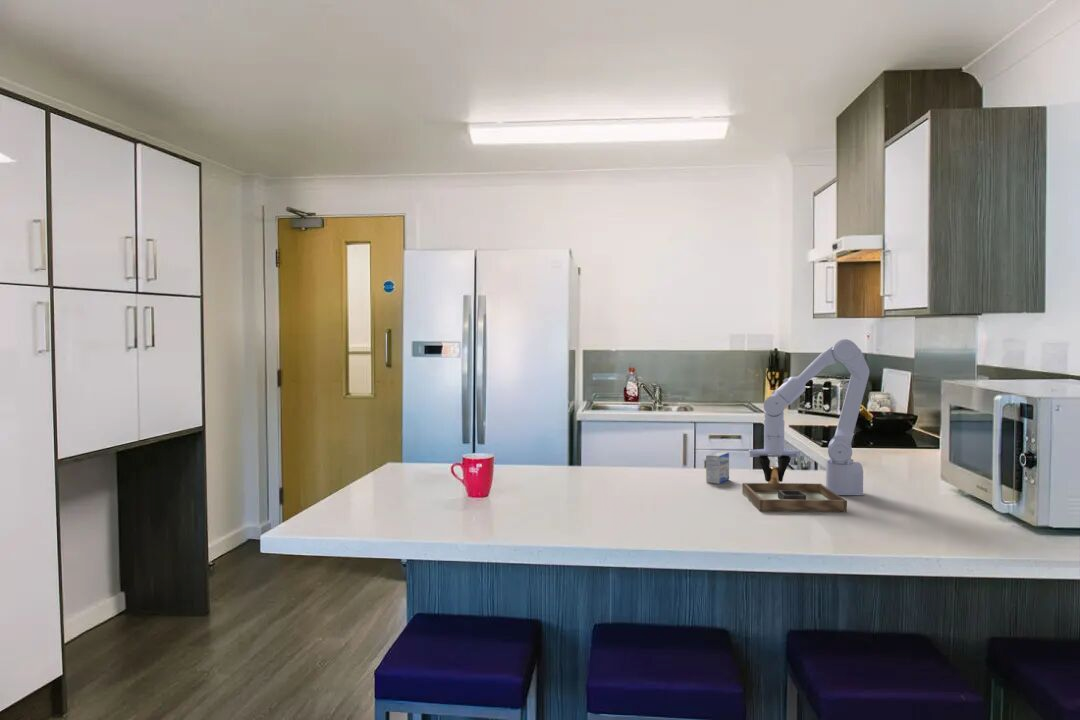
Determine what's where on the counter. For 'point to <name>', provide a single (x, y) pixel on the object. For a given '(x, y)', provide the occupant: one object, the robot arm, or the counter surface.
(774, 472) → the bronze metal cylinder
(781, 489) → the walled box
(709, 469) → the medicine box
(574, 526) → the counter surface
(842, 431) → the robot arm
